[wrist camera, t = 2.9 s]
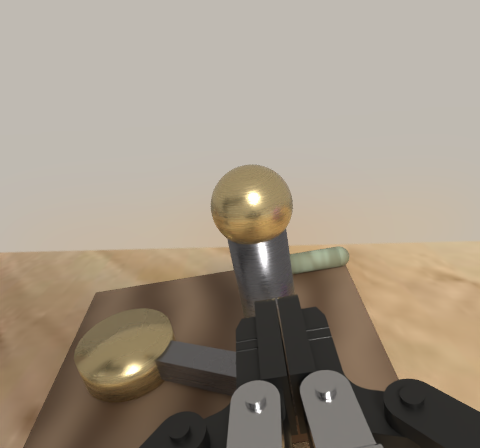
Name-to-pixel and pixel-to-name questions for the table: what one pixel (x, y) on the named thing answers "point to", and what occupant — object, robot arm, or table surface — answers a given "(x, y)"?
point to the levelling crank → (158, 325)
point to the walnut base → (210, 335)
